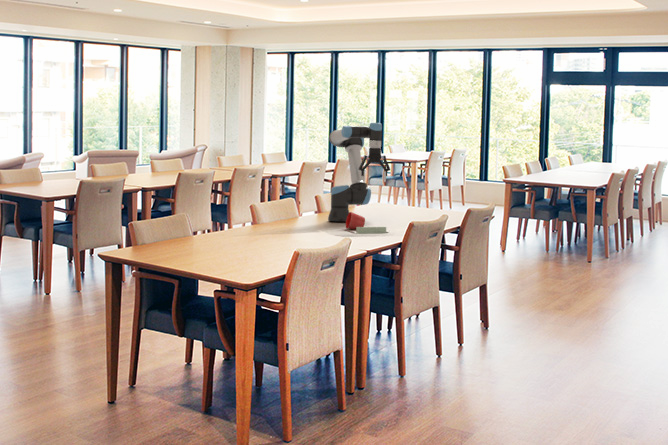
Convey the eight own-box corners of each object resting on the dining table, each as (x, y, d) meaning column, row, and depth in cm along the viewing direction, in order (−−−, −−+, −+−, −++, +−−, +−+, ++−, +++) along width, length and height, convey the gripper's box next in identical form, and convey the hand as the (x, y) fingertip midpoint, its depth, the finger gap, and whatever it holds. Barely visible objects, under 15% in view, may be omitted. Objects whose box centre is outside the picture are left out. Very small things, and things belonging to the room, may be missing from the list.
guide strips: (344, 230, 469) (344, 229, 469) (378, 230, 476) (378, 229, 476) (353, 233, 452) (353, 232, 452) (388, 232, 458) (388, 232, 458)
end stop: (356, 232, 454) (356, 227, 453) (384, 232, 459) (385, 226, 458) (357, 233, 452) (357, 227, 451) (386, 232, 457) (386, 227, 457)
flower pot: (364, 211, 478) (349, 208, 476) (367, 220, 469) (352, 217, 467) (359, 226, 483) (344, 223, 481) (361, 234, 474) (346, 231, 471)
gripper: (357, 147, 472) (356, 181, 474) (395, 148, 478) (394, 182, 480) (354, 147, 479) (353, 181, 481) (392, 148, 485) (391, 181, 488)
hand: (374, 181), depth 481 cm, fingers open, 13 cm apart
